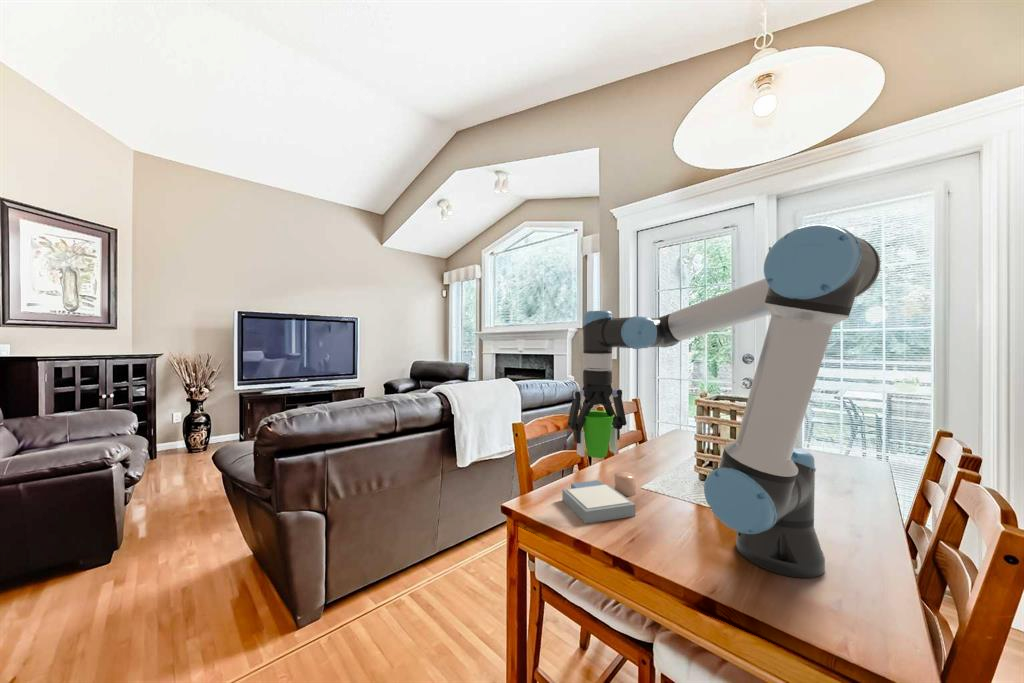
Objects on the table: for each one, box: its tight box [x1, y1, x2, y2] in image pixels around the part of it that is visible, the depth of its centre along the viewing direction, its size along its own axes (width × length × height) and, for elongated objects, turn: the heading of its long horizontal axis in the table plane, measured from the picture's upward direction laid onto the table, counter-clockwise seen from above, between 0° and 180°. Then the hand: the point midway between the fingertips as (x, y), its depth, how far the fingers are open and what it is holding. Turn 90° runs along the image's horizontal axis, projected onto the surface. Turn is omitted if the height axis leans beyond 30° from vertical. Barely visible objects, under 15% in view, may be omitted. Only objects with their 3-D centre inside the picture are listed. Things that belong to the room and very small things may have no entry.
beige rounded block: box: [614, 471, 637, 497], centre depth 113 cm, size 6×6×5 cm
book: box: [570, 479, 604, 489], centre depth 114 cm, size 6×9×2 cm
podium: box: [561, 483, 636, 524], centre depth 103 cm, size 14×14×3 cm
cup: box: [582, 410, 615, 459], centre depth 103 cm, size 9×9×11 cm
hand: (597, 453), depth 103 cm, fingers closed on cup, 9 cm apart
